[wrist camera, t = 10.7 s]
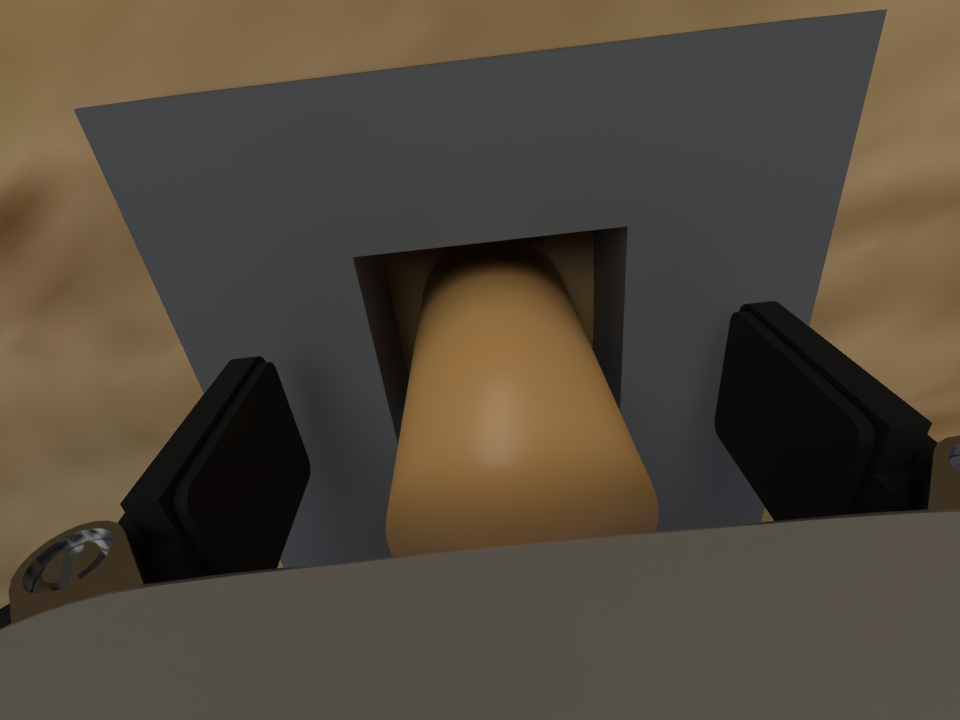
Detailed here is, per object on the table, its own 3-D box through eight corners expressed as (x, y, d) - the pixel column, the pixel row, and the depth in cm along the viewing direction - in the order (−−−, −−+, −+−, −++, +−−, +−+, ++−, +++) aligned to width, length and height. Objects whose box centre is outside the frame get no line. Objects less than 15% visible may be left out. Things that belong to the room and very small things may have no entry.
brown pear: (410, 244, 14) (357, 441, 7) (563, 227, 13) (669, 408, 7) (433, 372, 16) (411, 625, 9) (566, 359, 15) (649, 603, 9)
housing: (160, 96, 12) (-121, 136, 6) (789, 19, 11) (1115, -17, 6) (359, 624, 22) (323, 821, 16) (692, 594, 21) (774, 785, 16)
